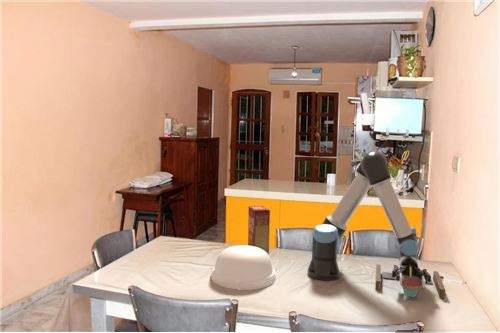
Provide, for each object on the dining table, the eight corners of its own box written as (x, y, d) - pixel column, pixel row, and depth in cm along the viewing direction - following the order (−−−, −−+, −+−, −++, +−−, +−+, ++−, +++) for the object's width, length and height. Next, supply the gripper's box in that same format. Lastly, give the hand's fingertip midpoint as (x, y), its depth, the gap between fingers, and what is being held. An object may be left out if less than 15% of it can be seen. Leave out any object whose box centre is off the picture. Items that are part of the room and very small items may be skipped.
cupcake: (396, 290, 180) (398, 263, 179) (416, 290, 180) (418, 263, 179) (404, 298, 172) (406, 269, 170) (425, 298, 172) (427, 270, 171)
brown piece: (375, 289, 185) (375, 280, 184) (376, 272, 207) (376, 264, 207) (444, 299, 176) (445, 289, 176) (437, 279, 199) (438, 271, 199)
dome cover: (218, 264, 213) (218, 237, 211) (277, 268, 210) (278, 240, 208) (204, 288, 181) (205, 256, 180) (274, 293, 178) (275, 261, 177)
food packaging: (246, 248, 242) (248, 205, 240) (262, 247, 244) (263, 205, 242) (253, 255, 229) (254, 210, 227) (269, 254, 232) (271, 209, 229)
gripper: (433, 276, 189) (439, 295, 168) (384, 270, 195) (384, 287, 174) (434, 260, 189) (441, 277, 167) (385, 254, 195) (386, 270, 173)
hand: (412, 282), depth 170 cm, fingers closed on cupcake, 8 cm apart
